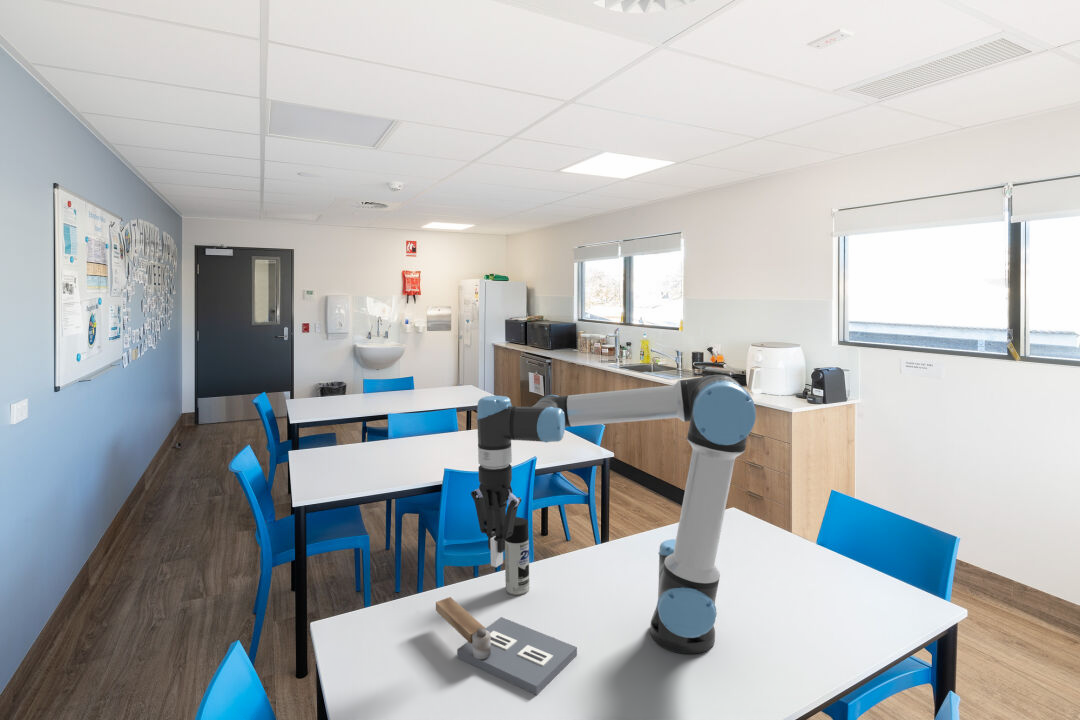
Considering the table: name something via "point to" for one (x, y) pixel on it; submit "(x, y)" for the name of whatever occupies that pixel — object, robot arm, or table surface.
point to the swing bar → (466, 626)
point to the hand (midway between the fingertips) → (497, 564)
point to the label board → (521, 655)
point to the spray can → (517, 558)
